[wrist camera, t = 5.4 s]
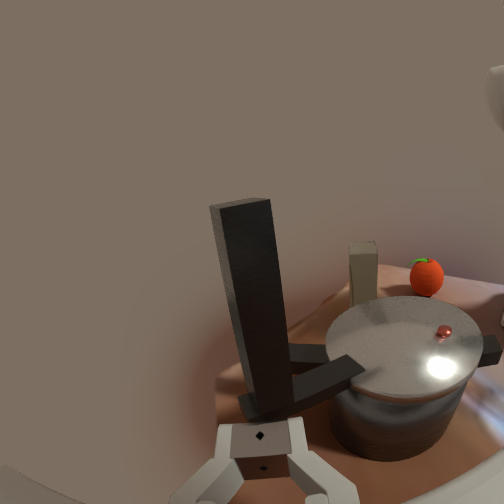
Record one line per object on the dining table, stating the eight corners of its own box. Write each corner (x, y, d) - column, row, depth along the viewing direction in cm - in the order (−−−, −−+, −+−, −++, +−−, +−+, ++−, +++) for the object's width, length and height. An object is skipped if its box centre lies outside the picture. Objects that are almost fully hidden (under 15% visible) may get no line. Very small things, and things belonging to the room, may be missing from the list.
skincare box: (350, 308, 47) (348, 241, 43) (374, 307, 45) (375, 240, 42) (348, 327, 41) (347, 253, 38) (376, 326, 39) (378, 252, 36)
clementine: (399, 298, 46) (401, 262, 44) (408, 284, 50) (409, 250, 48) (438, 305, 40) (442, 267, 38) (444, 289, 45) (447, 254, 43)
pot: (463, 362, 26) (479, 301, 23) (486, 447, 13) (526, 381, 11) (278, 365, 35) (270, 308, 33) (238, 447, 23) (217, 388, 20)
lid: (402, 292, 30) (400, 172, 26) (503, 338, 16) (524, 179, 12) (219, 362, 23) (183, 204, 20) (290, 500, 10) (245, 232, 6)
